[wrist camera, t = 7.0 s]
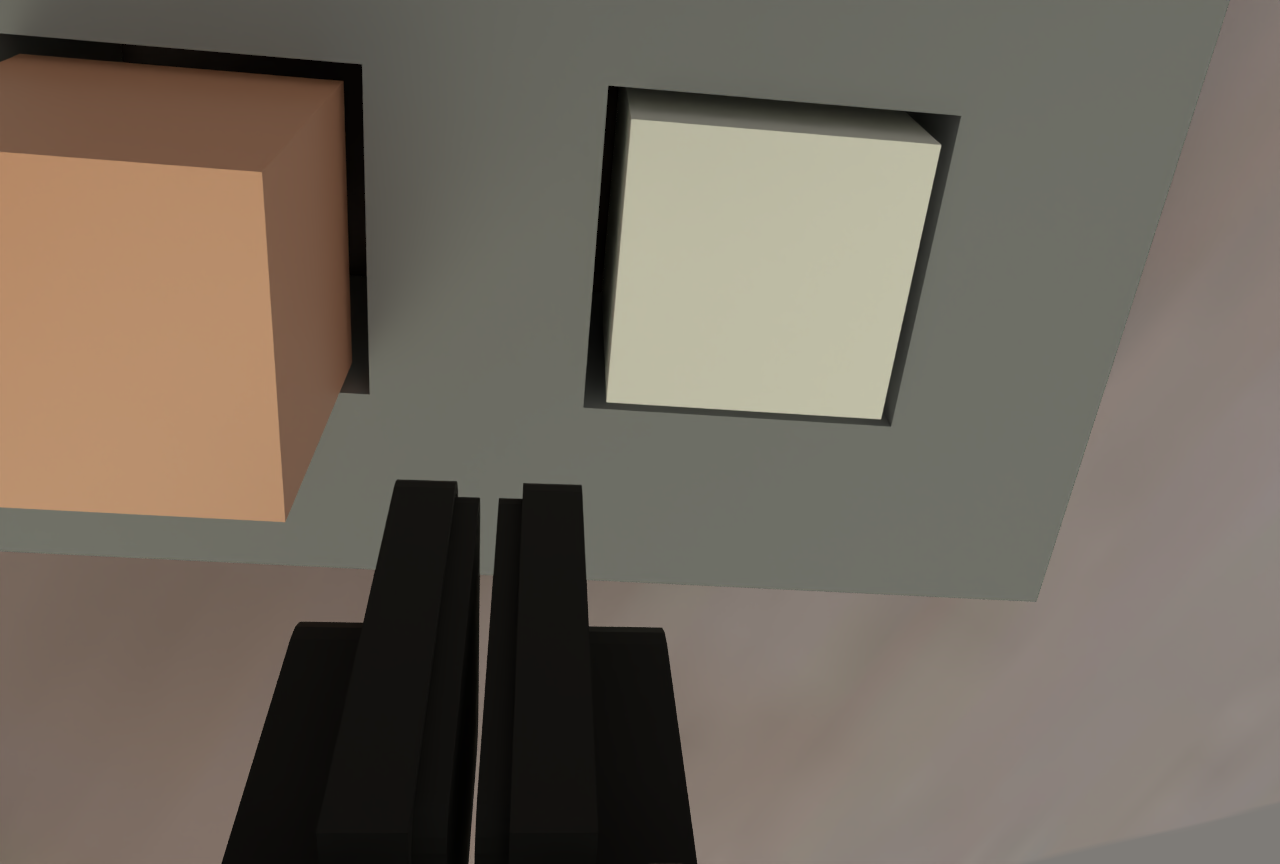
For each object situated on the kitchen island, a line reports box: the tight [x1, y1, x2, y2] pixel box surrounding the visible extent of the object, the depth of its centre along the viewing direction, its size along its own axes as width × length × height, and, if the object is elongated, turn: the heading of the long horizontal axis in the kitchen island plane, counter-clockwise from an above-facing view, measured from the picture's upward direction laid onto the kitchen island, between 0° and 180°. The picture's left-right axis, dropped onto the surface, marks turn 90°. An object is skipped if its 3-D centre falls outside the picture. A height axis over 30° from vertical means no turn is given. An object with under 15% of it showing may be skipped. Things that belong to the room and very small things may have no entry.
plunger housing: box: [0, 0, 1230, 602], centre depth 23 cm, size 14×24×6 cm, turn 85°
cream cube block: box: [602, 86, 941, 419], centre depth 22 cm, size 5×5×6 cm
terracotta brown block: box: [0, 54, 352, 522], centre depth 17 cm, size 5×5×6 cm
